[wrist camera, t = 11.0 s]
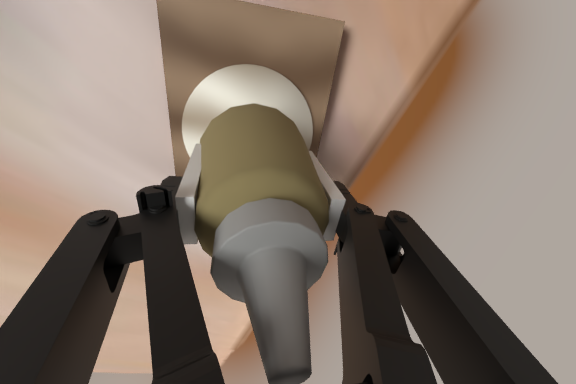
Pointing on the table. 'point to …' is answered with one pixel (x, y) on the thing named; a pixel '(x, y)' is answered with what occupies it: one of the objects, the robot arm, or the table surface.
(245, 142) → the squeeze bottle
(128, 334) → the table surface
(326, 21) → the walnut board
